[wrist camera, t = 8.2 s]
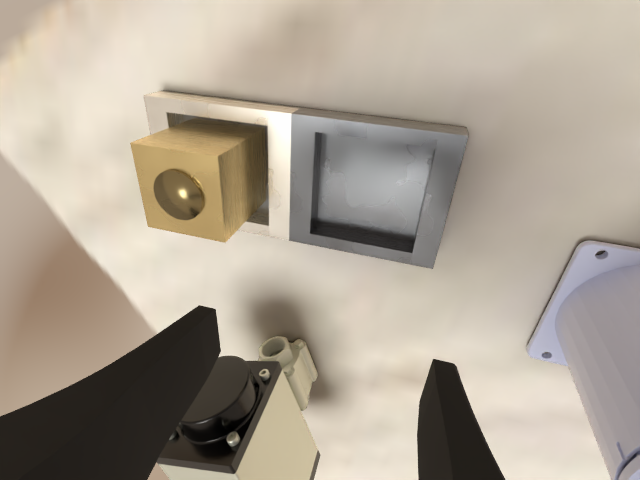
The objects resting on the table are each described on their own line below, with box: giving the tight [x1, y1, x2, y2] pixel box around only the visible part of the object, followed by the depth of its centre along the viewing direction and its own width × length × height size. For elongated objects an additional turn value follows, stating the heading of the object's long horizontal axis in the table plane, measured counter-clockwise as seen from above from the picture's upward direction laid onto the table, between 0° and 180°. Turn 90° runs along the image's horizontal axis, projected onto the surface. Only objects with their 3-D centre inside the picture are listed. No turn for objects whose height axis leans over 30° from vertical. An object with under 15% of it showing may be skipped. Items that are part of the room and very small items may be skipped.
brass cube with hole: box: [130, 118, 266, 242], centre depth 19 cm, size 4×4×5 cm
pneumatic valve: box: [157, 336, 320, 480], centre depth 23 cm, size 6×12×12 cm, turn 18°
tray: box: [144, 91, 468, 269], centre depth 20 cm, size 16×7×2 cm, turn 88°
